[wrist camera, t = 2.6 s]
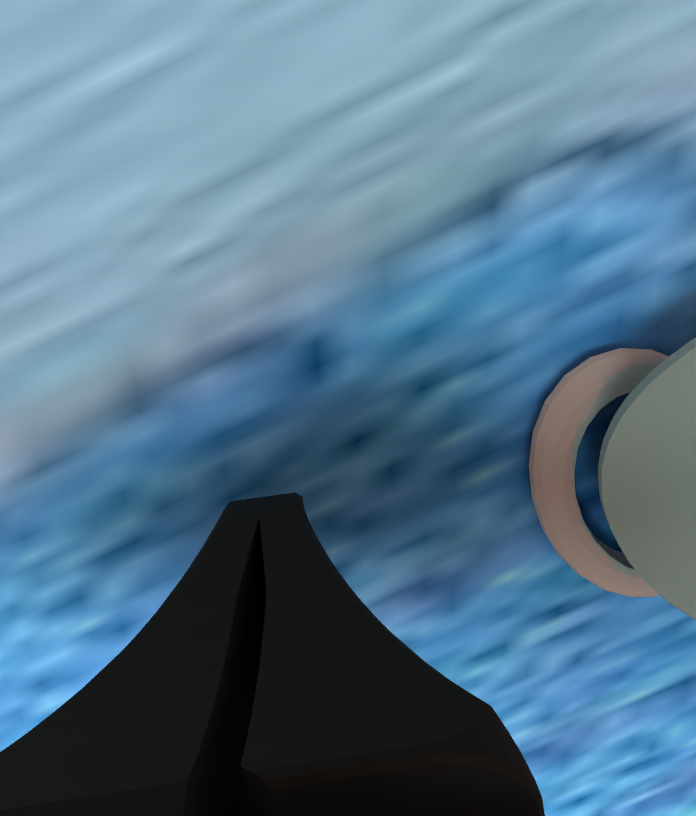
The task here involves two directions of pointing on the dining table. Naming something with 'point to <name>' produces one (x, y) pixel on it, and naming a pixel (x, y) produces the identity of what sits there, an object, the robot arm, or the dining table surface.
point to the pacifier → (625, 472)
